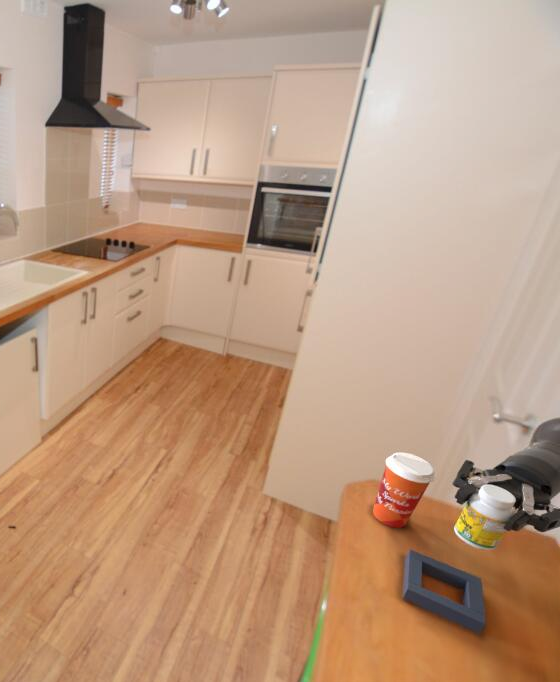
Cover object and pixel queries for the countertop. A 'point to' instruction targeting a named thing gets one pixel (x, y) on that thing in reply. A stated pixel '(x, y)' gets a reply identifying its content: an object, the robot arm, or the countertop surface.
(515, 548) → the countertop surface
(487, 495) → the supplement bottle
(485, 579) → the countertop surface
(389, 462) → the paper cup
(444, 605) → the bottle holder
